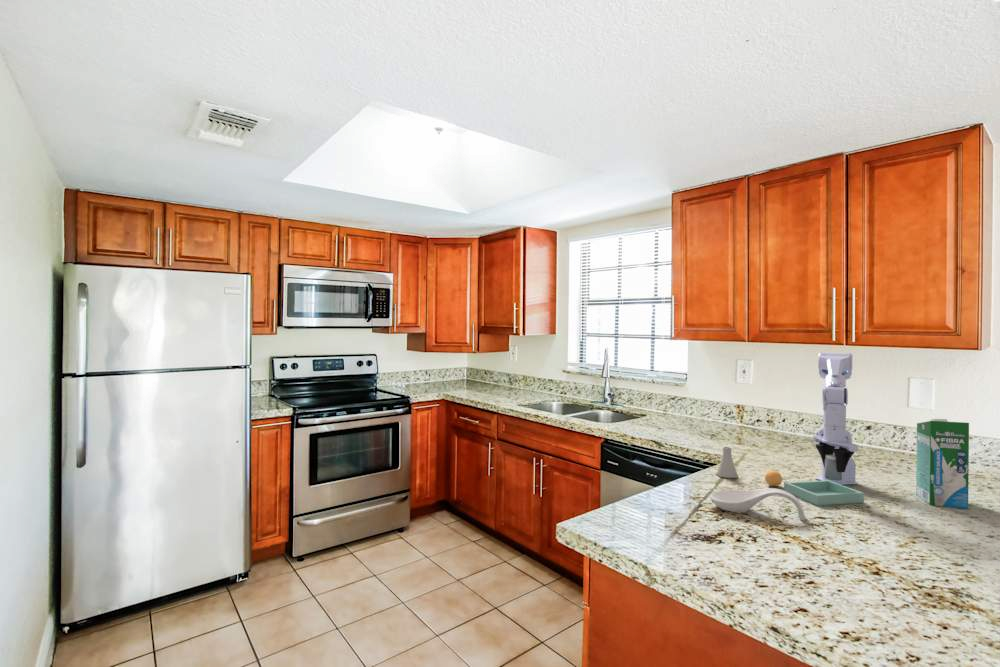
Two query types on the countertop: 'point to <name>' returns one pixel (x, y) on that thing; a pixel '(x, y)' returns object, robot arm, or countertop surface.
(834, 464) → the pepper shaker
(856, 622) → the countertop surface
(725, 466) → the flask
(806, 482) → the tray
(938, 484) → the milk carton
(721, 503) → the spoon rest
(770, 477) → the ball
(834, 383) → the robot arm
